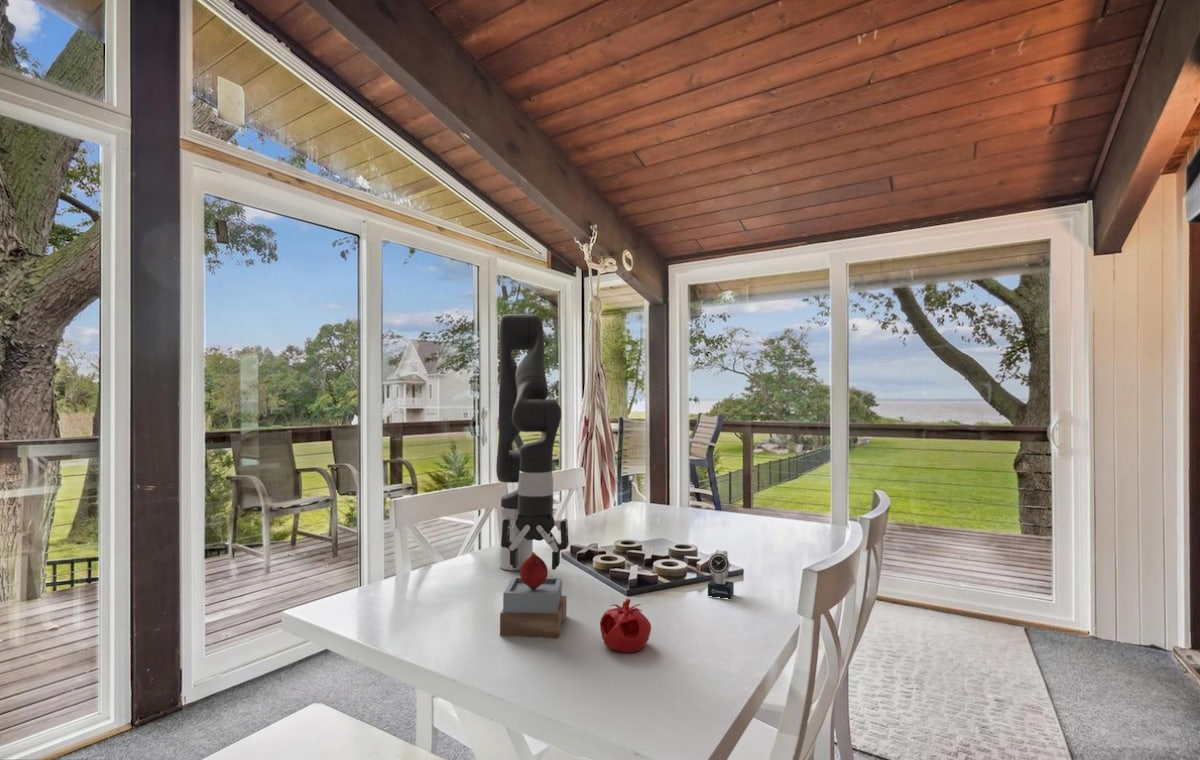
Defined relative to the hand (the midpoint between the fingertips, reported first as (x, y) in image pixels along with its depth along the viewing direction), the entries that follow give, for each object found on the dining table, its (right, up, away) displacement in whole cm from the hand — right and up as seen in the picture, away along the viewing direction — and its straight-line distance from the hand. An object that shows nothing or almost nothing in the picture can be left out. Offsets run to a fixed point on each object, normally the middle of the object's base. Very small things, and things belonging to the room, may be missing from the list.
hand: (534, 567), depth 126 cm
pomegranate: (+19, -12, -10) cm, 25 cm away
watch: (+44, -13, +19) cm, 50 cm away
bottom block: (0, -13, -1) cm, 13 cm away
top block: (0, -8, 0) cm, 8 cm away
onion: (0, -5, 0) cm, 5 cm away
